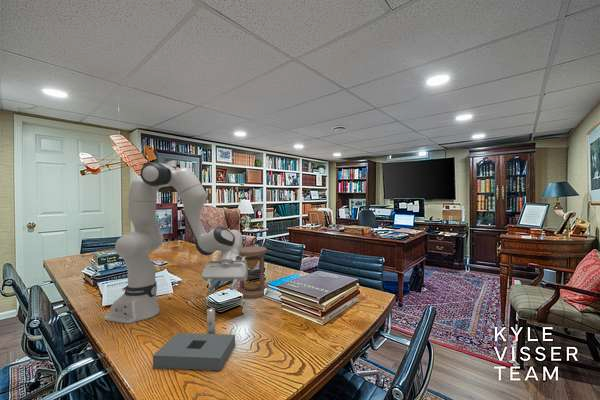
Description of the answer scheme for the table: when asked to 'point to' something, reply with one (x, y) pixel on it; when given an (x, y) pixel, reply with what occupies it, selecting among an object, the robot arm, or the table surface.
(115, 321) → the robot arm
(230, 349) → the hole block
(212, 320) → the peg
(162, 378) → the table surface
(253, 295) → the hourglass
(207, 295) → the valve
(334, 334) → the table surface
